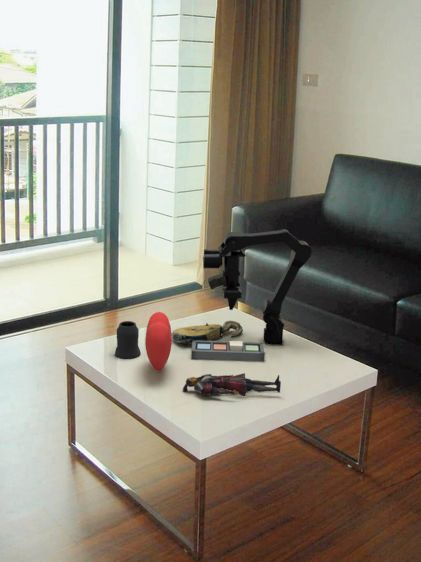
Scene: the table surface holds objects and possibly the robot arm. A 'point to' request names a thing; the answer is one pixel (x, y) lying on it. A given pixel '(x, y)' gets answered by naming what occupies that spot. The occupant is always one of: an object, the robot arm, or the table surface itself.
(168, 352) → the heart
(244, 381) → the figurine
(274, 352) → the table surface
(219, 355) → the gray cubby shelf
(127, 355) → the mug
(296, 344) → the table surface
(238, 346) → the key cream
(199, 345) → the key blue
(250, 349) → the key sage
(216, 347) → the key terracotta
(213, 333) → the pulley block
